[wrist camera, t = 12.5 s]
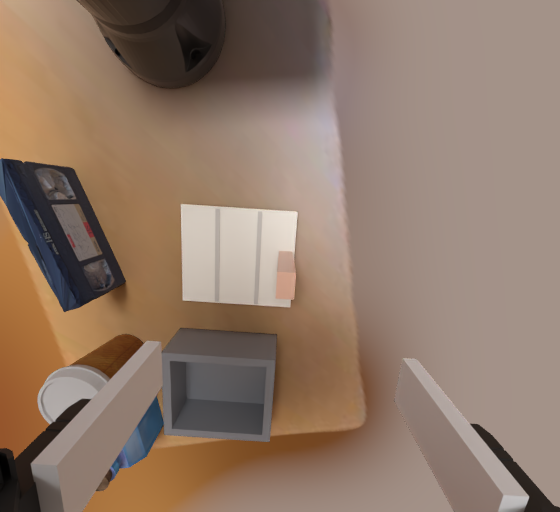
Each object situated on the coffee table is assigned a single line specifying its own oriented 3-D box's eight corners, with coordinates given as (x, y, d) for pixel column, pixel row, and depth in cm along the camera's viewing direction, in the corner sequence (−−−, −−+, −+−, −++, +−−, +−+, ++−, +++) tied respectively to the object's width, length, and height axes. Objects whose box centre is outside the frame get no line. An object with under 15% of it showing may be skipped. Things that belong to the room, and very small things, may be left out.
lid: (185, 203, 39) (138, 207, 26) (296, 211, 39) (303, 217, 26) (187, 295, 42) (146, 338, 29) (289, 302, 42) (292, 347, 29)
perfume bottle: (131, 426, 48) (81, 501, 36) (122, 397, 46) (67, 466, 35) (164, 423, 47) (124, 497, 36) (156, 394, 46) (112, 461, 34)
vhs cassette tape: (127, 282, 41) (80, 308, 32) (110, 287, 42) (58, 314, 32) (77, 166, 38) (5, 155, 28) (58, 172, 38) (-19, 163, 28)
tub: (180, 327, 43) (161, 352, 36) (276, 334, 43) (275, 360, 36) (181, 399, 46) (164, 434, 39) (271, 405, 46) (269, 442, 39)
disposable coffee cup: (117, 382, 45) (59, 446, 34) (89, 336, 44) (18, 387, 32) (165, 365, 45) (123, 425, 33) (139, 317, 43) (85, 363, 31)
